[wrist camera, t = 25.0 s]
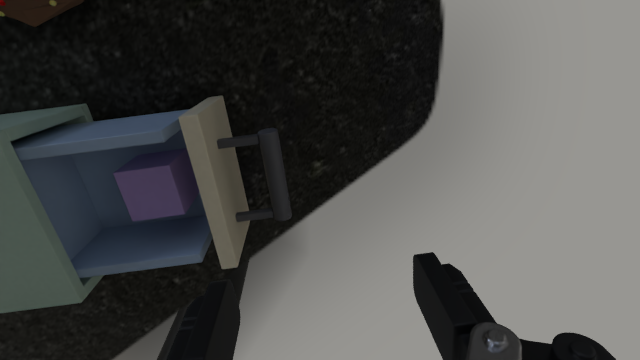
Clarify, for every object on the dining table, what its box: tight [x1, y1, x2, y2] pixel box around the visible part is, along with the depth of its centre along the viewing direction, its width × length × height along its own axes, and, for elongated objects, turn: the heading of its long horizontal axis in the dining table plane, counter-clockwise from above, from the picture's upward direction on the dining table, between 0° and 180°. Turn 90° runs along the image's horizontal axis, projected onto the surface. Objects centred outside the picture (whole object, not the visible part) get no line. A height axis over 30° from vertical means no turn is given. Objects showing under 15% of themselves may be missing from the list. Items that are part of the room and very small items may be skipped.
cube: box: [113, 148, 199, 221], centre depth 26 cm, size 4×4×4 cm
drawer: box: [11, 96, 292, 278], centre depth 25 cm, size 18×11×7 cm, turn 97°
